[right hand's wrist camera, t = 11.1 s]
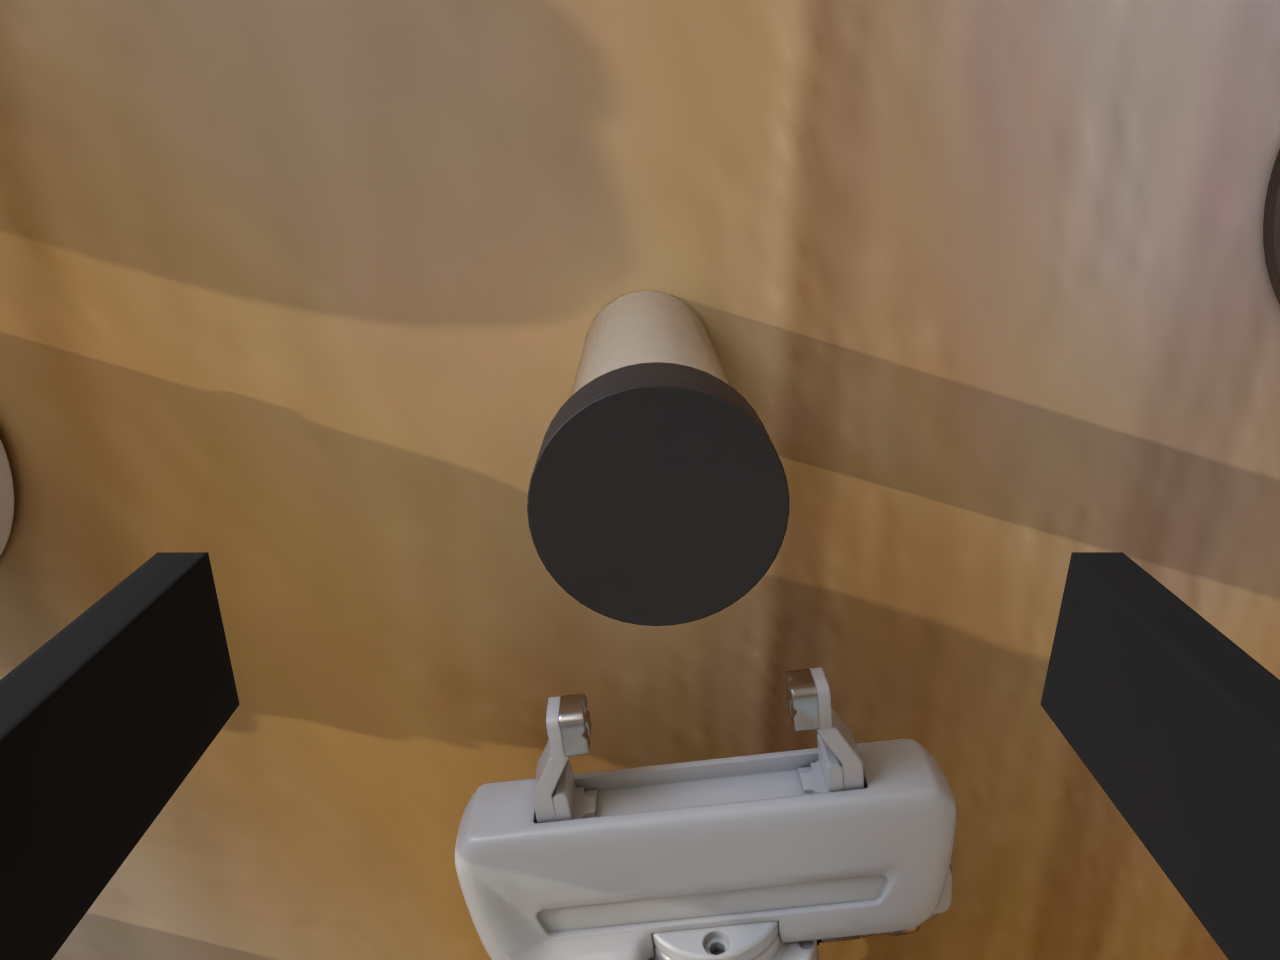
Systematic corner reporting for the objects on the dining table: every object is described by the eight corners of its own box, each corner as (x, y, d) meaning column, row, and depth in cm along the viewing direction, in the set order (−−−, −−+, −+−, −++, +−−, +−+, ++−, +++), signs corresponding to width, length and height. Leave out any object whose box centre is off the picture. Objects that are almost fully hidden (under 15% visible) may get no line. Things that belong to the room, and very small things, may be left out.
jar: (649, 262, 33) (661, 348, 18) (737, 356, 34) (816, 506, 20) (557, 354, 34) (498, 503, 19) (646, 440, 36) (654, 642, 21)
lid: (659, 309, 20) (662, 327, 18) (822, 479, 21) (843, 514, 19) (488, 476, 21) (472, 510, 19) (652, 623, 23) (654, 670, 21)
